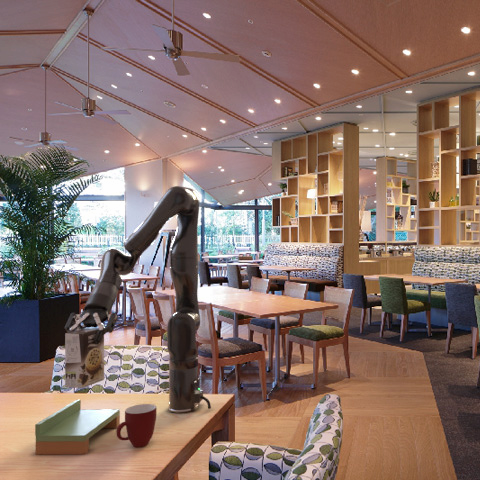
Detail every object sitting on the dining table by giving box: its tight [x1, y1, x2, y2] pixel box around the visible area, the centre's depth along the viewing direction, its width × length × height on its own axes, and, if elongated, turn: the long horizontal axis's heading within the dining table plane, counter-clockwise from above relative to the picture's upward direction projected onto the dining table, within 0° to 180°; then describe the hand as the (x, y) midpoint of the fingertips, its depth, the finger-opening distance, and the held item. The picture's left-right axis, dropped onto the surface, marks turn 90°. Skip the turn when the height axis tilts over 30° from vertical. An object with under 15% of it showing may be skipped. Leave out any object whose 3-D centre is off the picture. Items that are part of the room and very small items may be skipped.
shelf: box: [34, 399, 121, 455], centre depth 140 cm, size 13×20×8 cm, turn 2°
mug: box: [115, 403, 157, 448], centre depth 135 cm, size 10×8×10 cm
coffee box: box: [64, 327, 105, 389], centre depth 147 cm, size 9×6×16 cm
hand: (82, 343), depth 146 cm, fingers closed on coffee box, 7 cm apart
